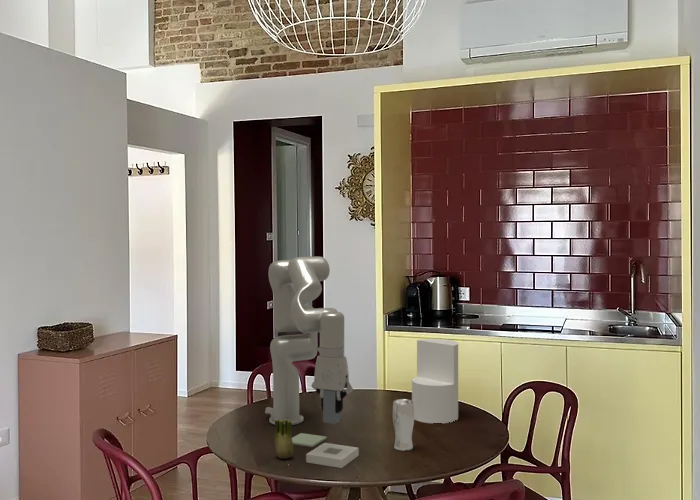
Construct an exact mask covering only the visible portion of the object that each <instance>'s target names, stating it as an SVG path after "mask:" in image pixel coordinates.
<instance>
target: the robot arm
mask: <svg viewBox="0 0 700 500" xmlns="http://www.w3.org/2000/svg"><path fill="white" fill-rule="evenodd" d="M329 276H330V264H329V262H328V260H327V259H326V258H325V257H323V256H298V257H297V256H296V257H293V258H292V259H281V260H276V261H273V262H272V263H270V264H269V267H268V282H269V284H270V288H271V290H272V297H273V324H274V328H275V329H276V331H278V332H280V333H281V332H282V333H292V332H300V333H302V334H286V335H285V334H284V335H279V336H276V337H274V338H273V339H272V340H271V342H270V345H269V346H270V347H269V349H270V355H271V361H272V363H271V364H272V384H273V385H272V386H273V389H272V393H273V394H272V395H273V397H272V399H273V400H272V401H273V407H270V406H267V407H266V408H265V411H264V413H265V414H266V415H267V414H268V415H270V416H269V423H270V424H272V425H275V420H276V419H278V420H284V422H285V419H287V420H288V421H291V422H292V426H294V425H299V424H301V423H303V422H304V416H303V415H302V414H300V373H299V370H298V368H297V367H296V366H295V365H294V364H293V362H297V361H309V360H312V359H313V360H314V359H315V357H316V356H317V357H316V361H315V367H314V378H313V380H314V381H313V382H312V384H311V388H312V389H314V391H316V393H317V394H318V395H319V398H320V406H321V411H322V412H323V390H331V391H336V395H337V400H336V413H339V412H341V413H342V411H343V408H344V399H345V397H346V396H347V395H349V394H351V393H352V392H353V391H354V388H353V386H352V384H351V383H350V378H349V377H350V374H349V373H350V371H349V365H348V359H347V357H346V356H345V315H344V313H343V312H340V311H338V310H337V309H336V308H334V307H318V308H314V307H313V306H311V305H309V303H311V302H312V301H314V300H316V299H318V297H319V296H320V295H321V293H322V291H323V288H322V284H321V282H323V281H326V280H327V279H328V278H329ZM292 285H293V286H292ZM318 333H319V345H318ZM318 353H319V355H317V354H318ZM344 389H346V390H344Z"/></svg>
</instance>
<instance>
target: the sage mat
mask: <svg viewBox="0 0 700 500" xmlns="http://www.w3.org/2000/svg"><path fill="white" fill-rule="evenodd" d="M327 438H328V437H327V436H324V435H317V434H310V433H305V432H304V433H303V432H299V434H296V435H294V436H293V437H292V441H293V446H295V445H296V446H302V447H308V448H314V447H315V446H317V445H319V444H320V443H321V442H324V441H325V440H327Z"/></svg>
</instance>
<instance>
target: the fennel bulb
mask: <svg viewBox="0 0 700 500" xmlns="http://www.w3.org/2000/svg"><path fill="white" fill-rule="evenodd" d="M292 426H293V425H292V422H291V421H288V420H287V419H285V422H284V420H278V419H276V420H275V424H274V428H275V429H274V447H275V452H276V456H277V457H278V458H279V460H288V459H291V458H292V457H293V455H294V444H293V441H292V438H293V437H292Z"/></svg>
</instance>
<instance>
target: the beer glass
mask: <svg viewBox="0 0 700 500" xmlns="http://www.w3.org/2000/svg"><path fill="white" fill-rule="evenodd" d="M392 423H393V427H394V434H395V436H394V437H395V441H394V446H393V448H394V449H395V450H397V451H404V452H405V451H406V450H407V451H411V450H413V448H414V445H413V429H414V425H415V419H414V402H413V401H412V399H407V398H400V399H395V400H393V403H392ZM407 451H406V452H407Z"/></svg>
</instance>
